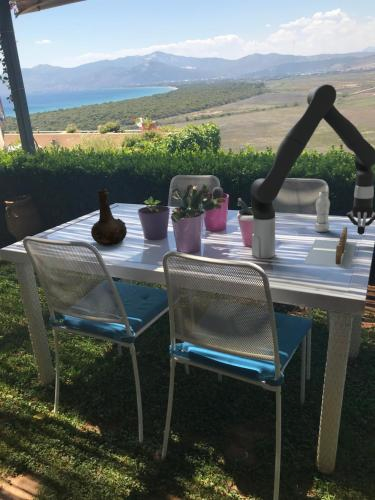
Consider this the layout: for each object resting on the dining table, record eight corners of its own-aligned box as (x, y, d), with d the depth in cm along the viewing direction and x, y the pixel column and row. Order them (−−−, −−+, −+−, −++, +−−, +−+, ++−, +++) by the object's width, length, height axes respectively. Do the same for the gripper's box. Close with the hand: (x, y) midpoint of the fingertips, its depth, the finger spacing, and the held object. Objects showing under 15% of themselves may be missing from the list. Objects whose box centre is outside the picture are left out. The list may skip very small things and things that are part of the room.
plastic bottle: (329, 233, 202) (331, 193, 195) (315, 233, 203) (316, 193, 197) (328, 229, 208) (330, 190, 201) (314, 230, 209) (315, 191, 203)
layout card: (350, 268, 161) (350, 267, 161) (303, 264, 169) (303, 263, 169) (356, 243, 187) (356, 242, 187) (315, 240, 195) (315, 239, 195)
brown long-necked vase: (131, 245, 208) (124, 190, 198) (95, 251, 202) (86, 195, 193) (124, 235, 224) (117, 184, 214) (91, 241, 218) (82, 188, 209)
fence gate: (344, 250, 177) (345, 235, 175) (339, 250, 178) (340, 235, 175) (346, 241, 188) (347, 226, 186) (342, 240, 189) (343, 226, 186)
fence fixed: (340, 264, 164) (341, 246, 162) (335, 264, 165) (336, 246, 163) (343, 252, 177) (344, 235, 174) (339, 252, 178) (339, 235, 175)
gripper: (346, 197, 177) (344, 236, 182) (380, 198, 171) (377, 238, 177) (347, 193, 183) (345, 230, 189) (380, 194, 177) (377, 232, 183)
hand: (360, 234), depth 183 cm, fingers closed
